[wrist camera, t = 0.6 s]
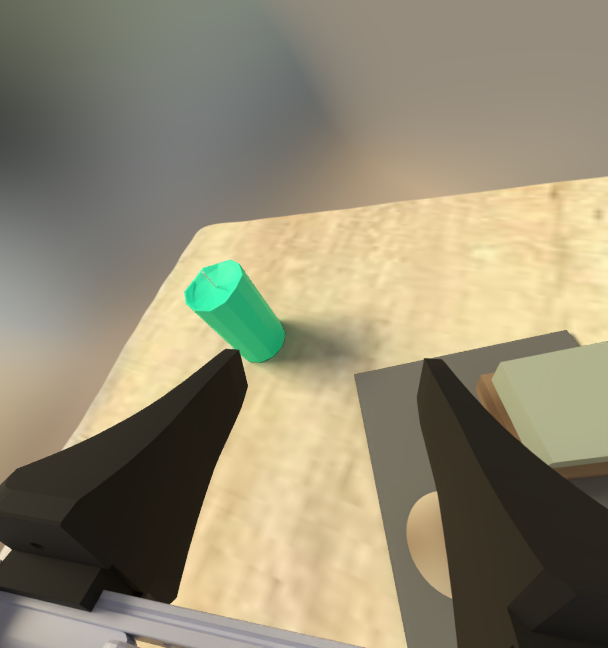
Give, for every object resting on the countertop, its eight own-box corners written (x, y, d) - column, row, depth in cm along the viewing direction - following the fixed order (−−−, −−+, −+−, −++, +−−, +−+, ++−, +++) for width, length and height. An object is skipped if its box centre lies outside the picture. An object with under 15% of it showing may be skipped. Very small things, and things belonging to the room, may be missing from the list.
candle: (293, 324, 34) (246, 250, 25) (270, 369, 32) (207, 306, 23) (254, 314, 37) (198, 244, 28) (230, 355, 35) (160, 293, 25)
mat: (831, 703, 13) (844, 708, 13) (417, 693, 17) (417, 697, 16) (564, 332, 25) (566, 330, 24) (355, 376, 28) (354, 374, 28)
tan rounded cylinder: (502, 582, 18) (525, 600, 14) (421, 587, 19) (421, 604, 15) (470, 492, 21) (481, 485, 17) (400, 500, 22) (396, 495, 18)
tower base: (639, 471, 18) (671, 464, 16) (517, 485, 20) (530, 480, 18) (571, 371, 23) (589, 354, 20) (474, 389, 24) (481, 375, 22)
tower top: (653, 456, 16) (692, 445, 14) (535, 470, 18) (553, 462, 15) (585, 362, 20) (608, 341, 18) (491, 379, 21) (500, 362, 19)
